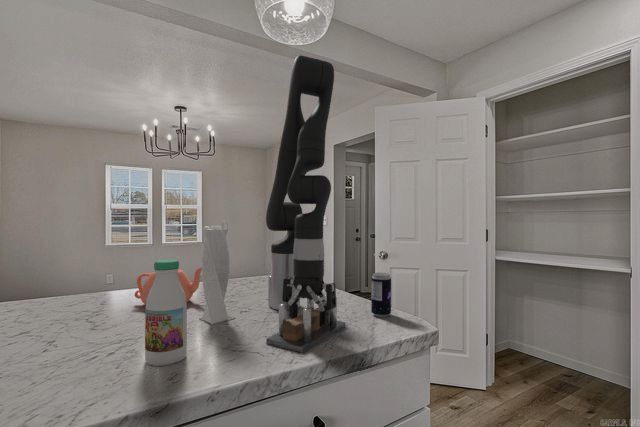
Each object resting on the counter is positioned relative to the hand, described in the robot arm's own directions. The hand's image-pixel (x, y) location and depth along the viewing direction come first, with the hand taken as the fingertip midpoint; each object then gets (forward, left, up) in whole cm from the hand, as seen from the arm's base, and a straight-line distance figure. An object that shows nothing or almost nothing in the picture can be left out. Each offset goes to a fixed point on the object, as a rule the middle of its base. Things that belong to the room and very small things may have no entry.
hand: (308, 322), depth 84 cm
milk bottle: (-17, -27, -3) cm, 32 cm away
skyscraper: (-28, -4, -3) cm, 28 cm away
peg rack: (0, 0, -3) cm, 3 cm away
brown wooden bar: (0, 0, -2) cm, 2 cm away
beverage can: (+9, +25, -3) cm, 27 cm away
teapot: (-54, 0, -3) cm, 54 cm away
